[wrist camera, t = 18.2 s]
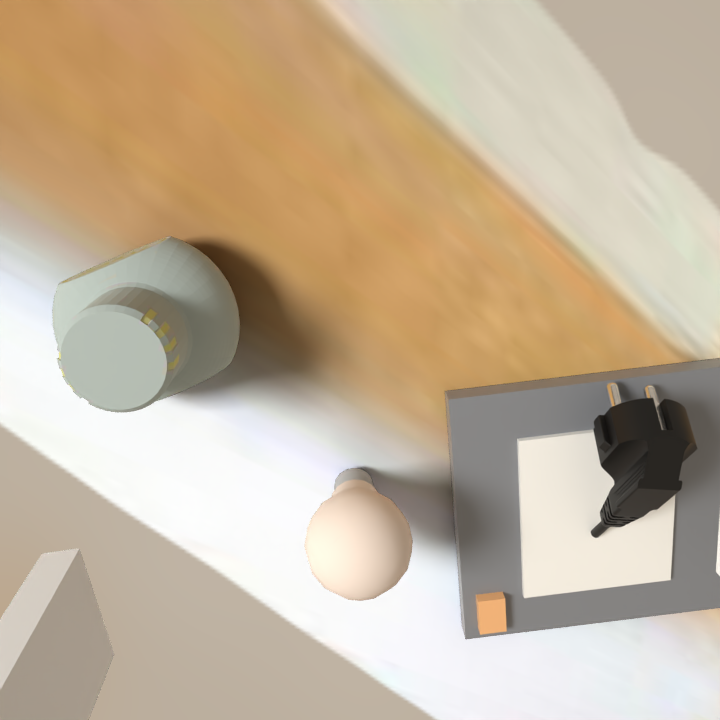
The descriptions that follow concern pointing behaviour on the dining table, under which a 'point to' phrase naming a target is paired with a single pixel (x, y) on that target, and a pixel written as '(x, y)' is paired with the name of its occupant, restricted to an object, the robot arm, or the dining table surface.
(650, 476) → the power plug
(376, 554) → the light bulb
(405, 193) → the dining table surface
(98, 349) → the air freshener
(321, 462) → the dining table surface
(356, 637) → the dining table surface
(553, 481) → the socket board
